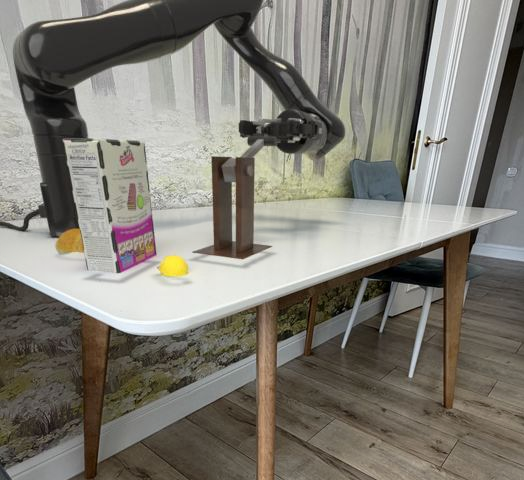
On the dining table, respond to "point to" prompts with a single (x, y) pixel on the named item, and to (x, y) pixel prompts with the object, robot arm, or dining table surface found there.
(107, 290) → the dining table surface
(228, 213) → the bracket
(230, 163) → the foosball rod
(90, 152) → the candy bar box
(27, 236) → the dining table surface
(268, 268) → the dining table surface
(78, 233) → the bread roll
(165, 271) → the yellow lemon
